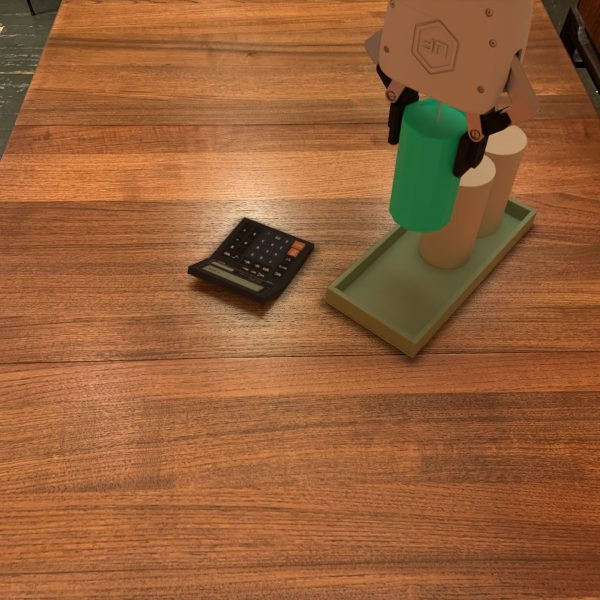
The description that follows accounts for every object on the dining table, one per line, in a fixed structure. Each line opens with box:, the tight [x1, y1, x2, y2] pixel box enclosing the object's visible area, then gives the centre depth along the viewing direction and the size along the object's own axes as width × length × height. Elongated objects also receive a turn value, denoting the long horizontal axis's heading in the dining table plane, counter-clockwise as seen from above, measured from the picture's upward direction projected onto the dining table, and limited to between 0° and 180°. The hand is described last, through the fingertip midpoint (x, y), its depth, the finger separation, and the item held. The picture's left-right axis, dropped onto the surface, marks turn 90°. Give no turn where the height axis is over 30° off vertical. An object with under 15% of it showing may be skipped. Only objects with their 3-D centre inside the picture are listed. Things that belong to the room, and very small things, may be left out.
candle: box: [388, 97, 468, 233], centre depth 57 cm, size 6×6×12 cm
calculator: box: [186, 216, 315, 307], centre depth 73 cm, size 9×12×3 cm
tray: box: [325, 196, 538, 359], centre depth 73 cm, size 11×25×2 cm, turn 139°
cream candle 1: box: [418, 155, 496, 269], centre depth 70 cm, size 6×6×12 cm
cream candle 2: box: [477, 125, 528, 238], centre depth 73 cm, size 6×6×12 cm
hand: (432, 151), depth 57 cm, fingers closed on candle, 5 cm apart
